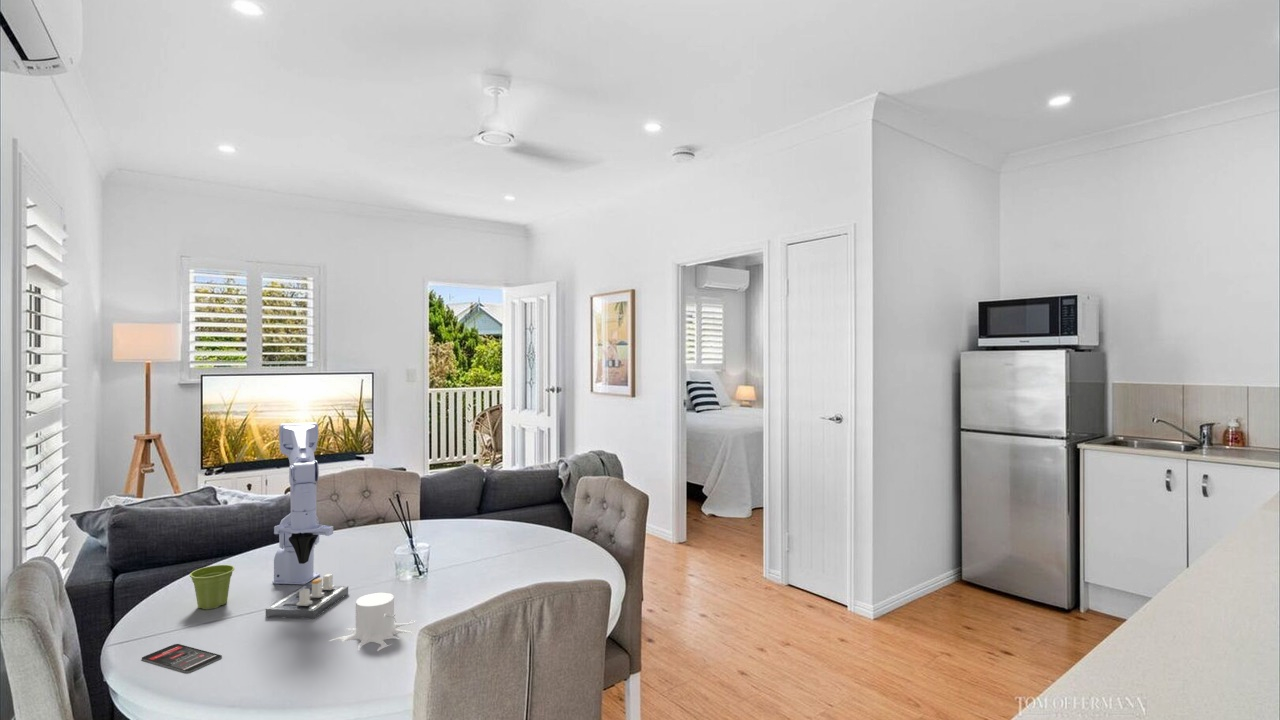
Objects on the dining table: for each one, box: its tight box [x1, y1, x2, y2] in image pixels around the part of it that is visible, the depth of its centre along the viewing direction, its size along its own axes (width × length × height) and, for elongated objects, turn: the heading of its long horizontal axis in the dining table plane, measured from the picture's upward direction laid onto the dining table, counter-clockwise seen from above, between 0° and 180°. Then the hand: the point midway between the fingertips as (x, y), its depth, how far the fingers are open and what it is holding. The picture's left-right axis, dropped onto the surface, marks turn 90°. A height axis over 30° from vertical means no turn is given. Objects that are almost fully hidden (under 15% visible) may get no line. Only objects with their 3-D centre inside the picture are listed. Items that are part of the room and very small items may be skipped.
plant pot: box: [189, 564, 235, 610], centre depth 161 cm, size 9×9×9 cm
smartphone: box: [141, 643, 223, 674], centre depth 133 cm, size 7×1×15 cm
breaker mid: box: [310, 578, 325, 598], centre depth 161 cm, size 3×2×4 cm
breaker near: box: [296, 589, 313, 606], centre depth 156 cm, size 3×2×3 cm
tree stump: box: [329, 592, 416, 652], centre depth 146 cm, size 20×19×8 cm
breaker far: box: [322, 573, 336, 590], centre depth 166 cm, size 3×2×3 cm
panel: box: [265, 584, 349, 619], centre depth 161 cm, size 12×16×2 cm
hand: (303, 562), depth 163 cm, fingers closed
